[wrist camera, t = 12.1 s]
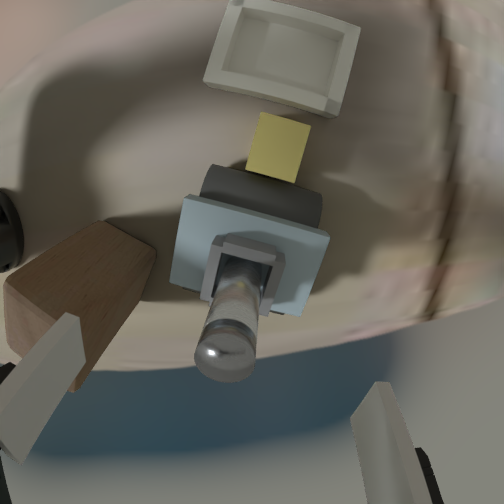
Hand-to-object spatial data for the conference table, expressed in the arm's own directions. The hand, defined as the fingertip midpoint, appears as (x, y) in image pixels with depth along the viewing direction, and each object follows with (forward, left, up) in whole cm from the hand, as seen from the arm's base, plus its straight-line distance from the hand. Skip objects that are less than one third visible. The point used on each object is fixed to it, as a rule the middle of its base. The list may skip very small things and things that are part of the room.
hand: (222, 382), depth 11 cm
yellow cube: (0, +9, -27) cm, 28 cm away
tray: (-2, +20, -26) cm, 33 cm away
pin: (0, -3, -17) cm, 18 cm away
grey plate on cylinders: (0, -2, -26) cm, 26 cm away
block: (-17, -11, -27) cm, 33 cm away
